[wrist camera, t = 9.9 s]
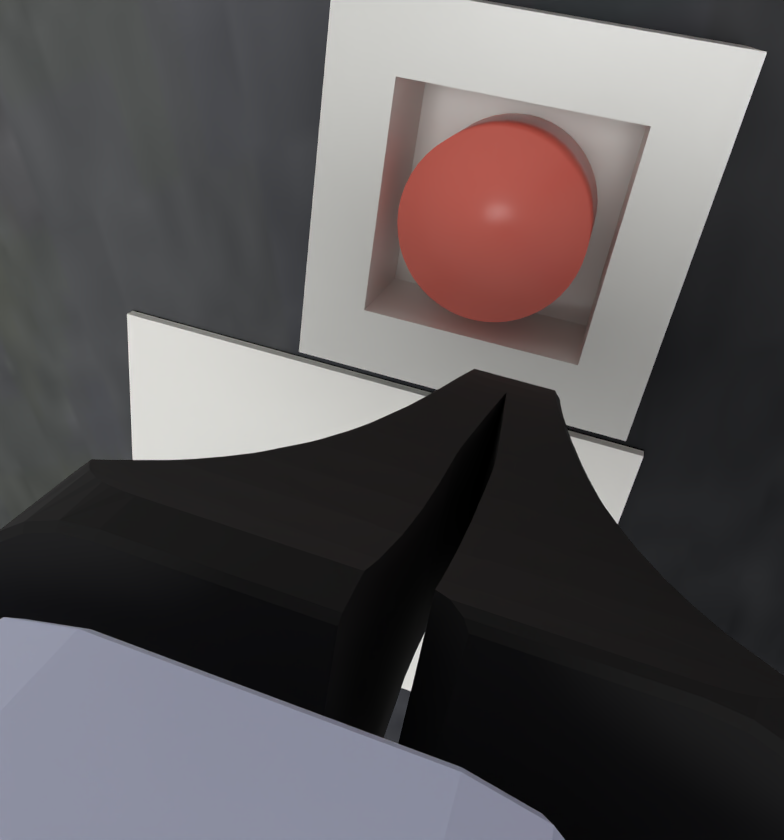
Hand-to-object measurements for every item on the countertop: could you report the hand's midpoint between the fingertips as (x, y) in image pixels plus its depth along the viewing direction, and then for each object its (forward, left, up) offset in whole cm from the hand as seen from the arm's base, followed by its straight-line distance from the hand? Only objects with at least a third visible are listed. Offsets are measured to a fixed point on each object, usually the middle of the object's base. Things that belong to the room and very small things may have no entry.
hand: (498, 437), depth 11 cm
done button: (+2, -2, -8) cm, 8 cm away
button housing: (+2, -1, -9) cm, 9 cm away
